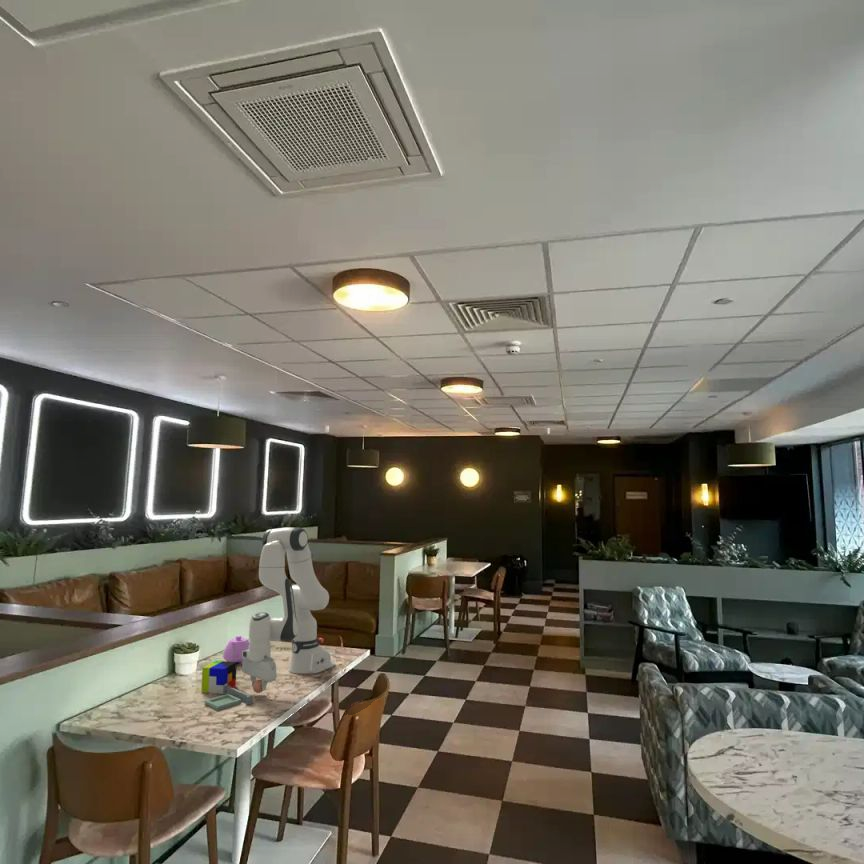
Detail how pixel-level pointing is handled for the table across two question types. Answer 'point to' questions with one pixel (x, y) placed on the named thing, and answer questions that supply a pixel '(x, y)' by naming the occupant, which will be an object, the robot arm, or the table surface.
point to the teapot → (235, 649)
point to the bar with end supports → (238, 694)
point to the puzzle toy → (218, 676)
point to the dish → (222, 702)
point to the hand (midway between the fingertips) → (259, 688)
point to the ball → (257, 686)
